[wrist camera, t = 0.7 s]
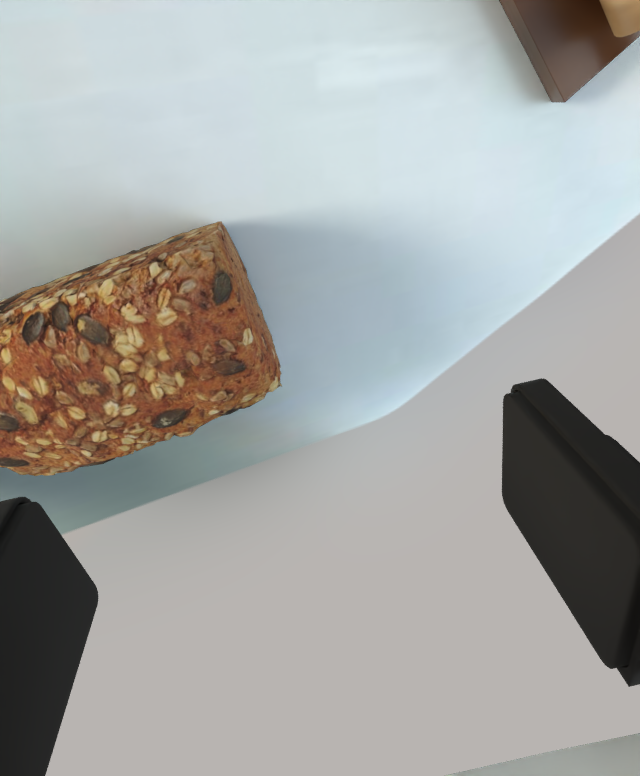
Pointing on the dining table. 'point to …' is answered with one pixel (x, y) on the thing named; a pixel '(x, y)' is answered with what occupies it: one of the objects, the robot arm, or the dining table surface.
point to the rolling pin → (622, 16)
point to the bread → (130, 354)
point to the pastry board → (565, 41)
